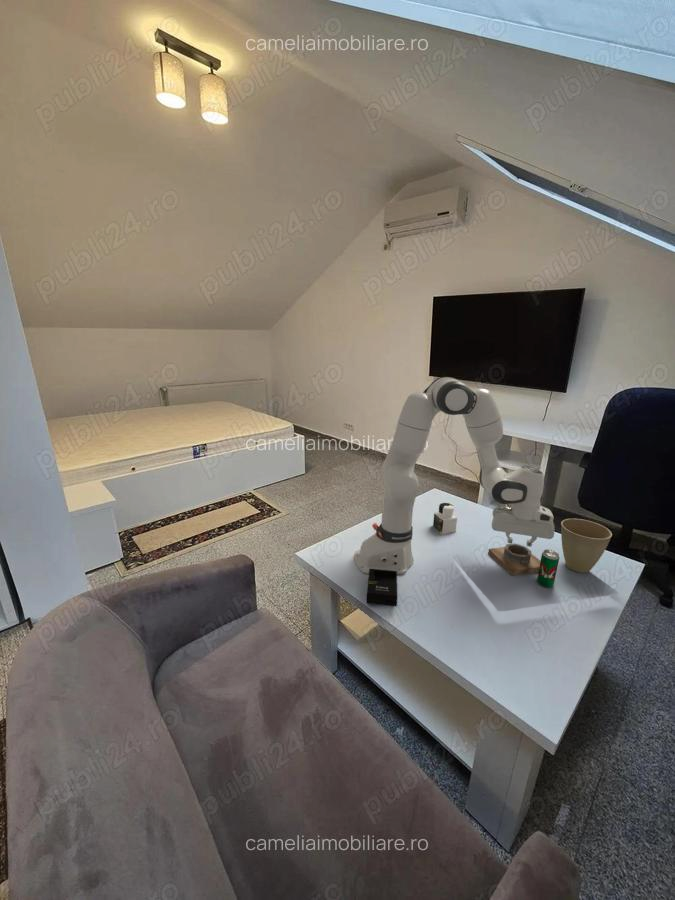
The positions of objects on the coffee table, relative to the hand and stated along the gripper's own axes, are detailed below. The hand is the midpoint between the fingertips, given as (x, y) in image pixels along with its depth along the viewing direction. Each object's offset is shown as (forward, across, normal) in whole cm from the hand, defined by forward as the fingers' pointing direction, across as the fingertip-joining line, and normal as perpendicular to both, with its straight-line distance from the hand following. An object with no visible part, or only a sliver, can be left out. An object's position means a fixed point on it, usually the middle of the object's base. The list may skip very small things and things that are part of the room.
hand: (519, 544), depth 132 cm
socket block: (+8, 0, 0) cm, 8 cm away
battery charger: (+8, -44, -33) cm, 55 cm away
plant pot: (+8, +21, +4) cm, 23 cm away
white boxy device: (+8, -27, +16) cm, 32 cm away
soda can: (+8, +8, -11) cm, 15 cm away
